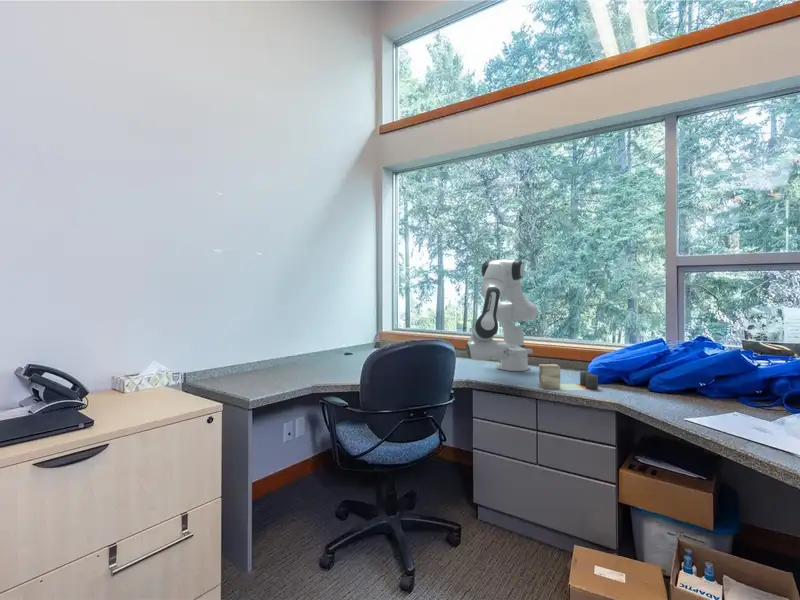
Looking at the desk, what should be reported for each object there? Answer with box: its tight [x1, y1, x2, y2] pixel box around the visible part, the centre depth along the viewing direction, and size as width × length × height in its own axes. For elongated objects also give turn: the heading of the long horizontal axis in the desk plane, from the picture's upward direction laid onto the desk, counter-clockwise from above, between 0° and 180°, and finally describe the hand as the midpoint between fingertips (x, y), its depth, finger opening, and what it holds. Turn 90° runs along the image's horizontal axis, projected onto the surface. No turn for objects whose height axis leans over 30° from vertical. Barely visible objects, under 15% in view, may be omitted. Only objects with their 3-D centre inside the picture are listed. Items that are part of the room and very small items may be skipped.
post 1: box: [579, 371, 593, 387], centre depth 187 cm, size 5×5×6 cm
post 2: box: [586, 373, 599, 391], centre depth 181 cm, size 5×5×6 cm
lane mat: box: [537, 383, 601, 391], centre depth 185 cm, size 12×25×1 cm, turn 88°
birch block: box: [538, 363, 561, 389], centre depth 185 cm, size 5×8×10 cm, turn 88°
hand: (531, 350), depth 185 cm, fingers closed
